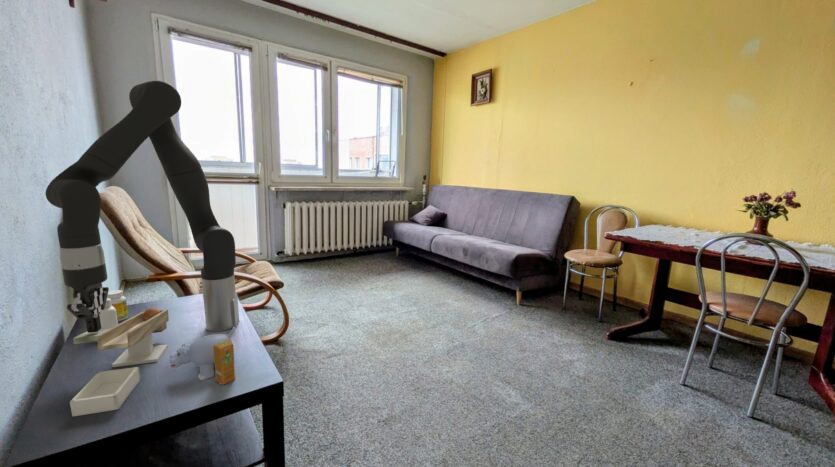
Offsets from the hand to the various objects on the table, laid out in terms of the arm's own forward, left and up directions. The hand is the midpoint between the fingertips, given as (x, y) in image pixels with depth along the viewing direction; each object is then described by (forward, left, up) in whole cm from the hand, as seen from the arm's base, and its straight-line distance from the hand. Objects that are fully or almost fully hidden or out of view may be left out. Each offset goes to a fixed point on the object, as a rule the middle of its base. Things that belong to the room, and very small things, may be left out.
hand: (94, 330), depth 86 cm
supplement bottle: (+11, -35, -12) cm, 38 cm away
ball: (-6, -16, -3) cm, 17 cm away
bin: (-6, +11, -12) cm, 18 cm away
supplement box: (-30, +12, -12) cm, 35 cm away
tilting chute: (-3, -5, -6) cm, 9 cm away
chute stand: (-6, -6, -12) cm, 14 cm away
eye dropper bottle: (+9, -25, -12) cm, 29 cm away
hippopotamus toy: (-25, +5, -12) cm, 28 cm away
